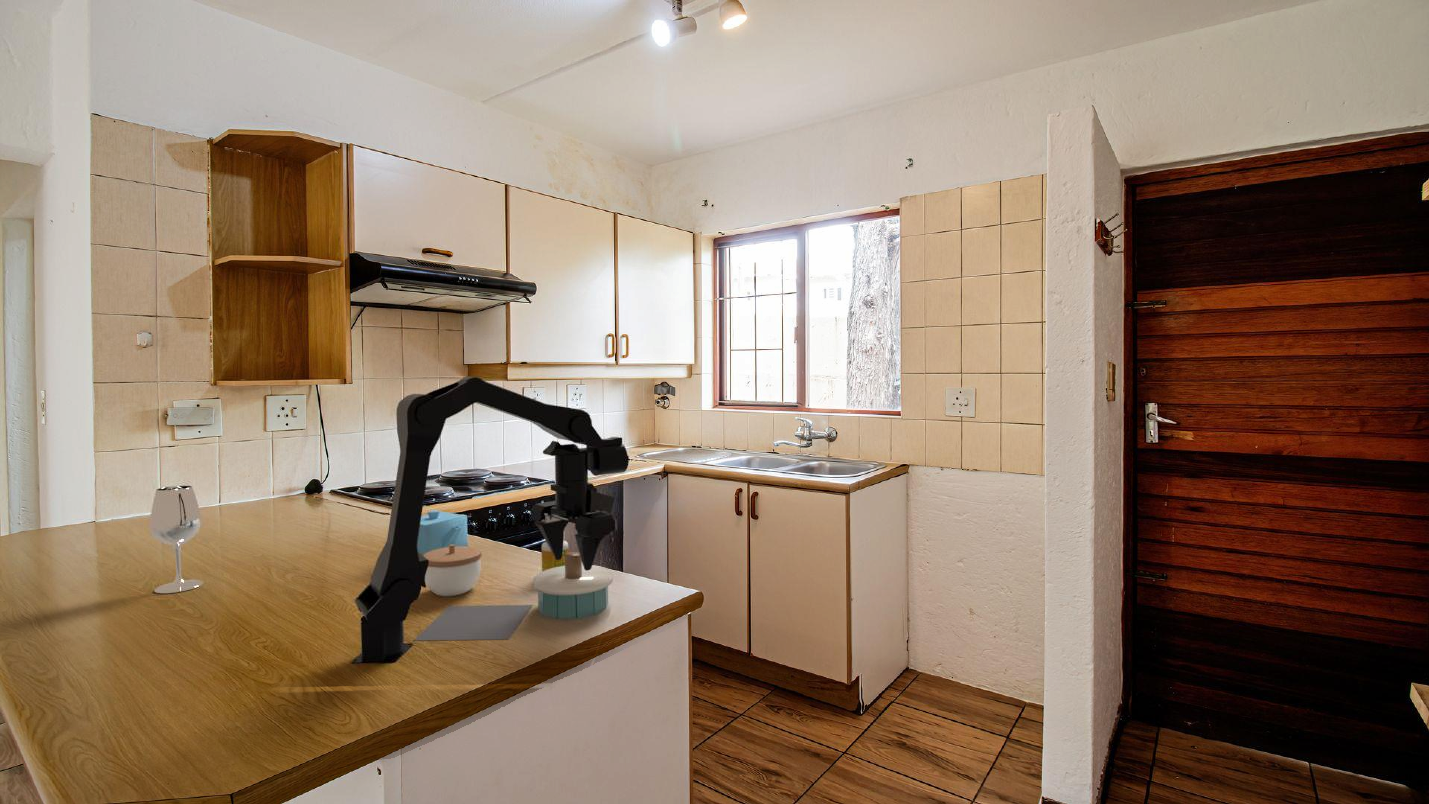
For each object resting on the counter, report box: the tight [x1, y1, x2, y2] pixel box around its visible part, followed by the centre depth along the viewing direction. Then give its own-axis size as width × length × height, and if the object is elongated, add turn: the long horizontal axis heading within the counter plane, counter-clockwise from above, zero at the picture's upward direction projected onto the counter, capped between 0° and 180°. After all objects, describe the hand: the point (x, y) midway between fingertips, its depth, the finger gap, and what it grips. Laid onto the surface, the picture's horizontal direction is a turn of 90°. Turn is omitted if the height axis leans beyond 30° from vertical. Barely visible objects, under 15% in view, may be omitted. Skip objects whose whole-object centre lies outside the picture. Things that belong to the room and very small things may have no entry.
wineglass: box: [149, 485, 204, 595], centre depth 130 cm, size 8×8×20 cm
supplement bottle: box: [541, 531, 570, 572], centre depth 135 cm, size 5×5×10 cm
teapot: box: [417, 509, 469, 555], centre depth 149 cm, size 16×18×11 cm
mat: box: [412, 604, 533, 642], centre depth 111 cm, size 15×15×1 cm
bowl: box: [537, 586, 609, 620], centre depth 118 cm, size 12×12×5 cm
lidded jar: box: [423, 544, 482, 597], centre depth 127 cm, size 11×11×9 cm
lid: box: [532, 551, 614, 595], centre depth 118 cm, size 14×14×5 cm
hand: (572, 564), depth 118 cm, fingers open, 9 cm apart
